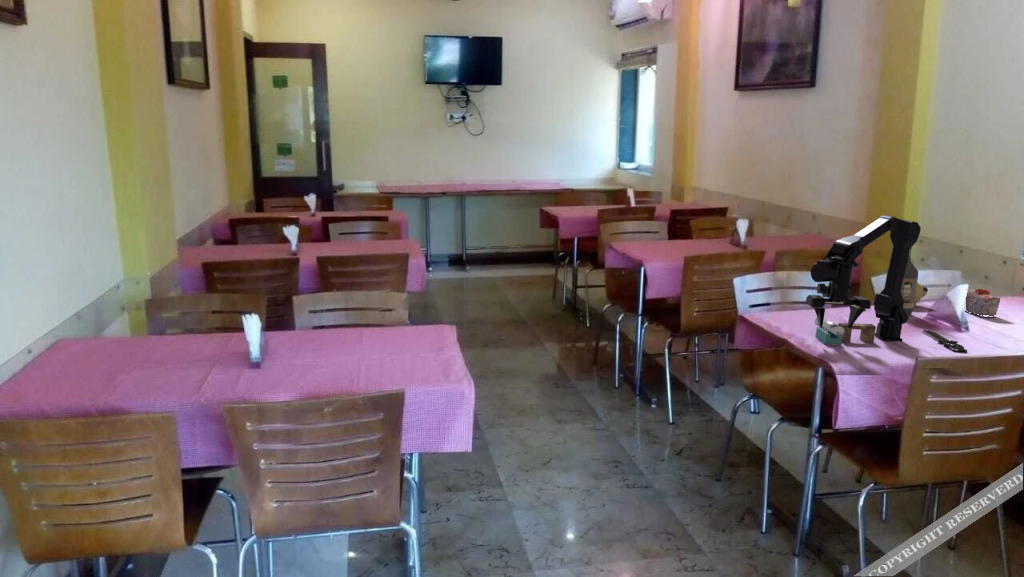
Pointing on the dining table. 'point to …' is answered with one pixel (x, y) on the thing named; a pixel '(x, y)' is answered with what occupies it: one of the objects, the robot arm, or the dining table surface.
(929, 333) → the knife
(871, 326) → the wooden bridge block
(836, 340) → the cradle
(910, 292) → the liquor
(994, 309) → the food item
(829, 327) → the axle
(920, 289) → the tan rounded piece
